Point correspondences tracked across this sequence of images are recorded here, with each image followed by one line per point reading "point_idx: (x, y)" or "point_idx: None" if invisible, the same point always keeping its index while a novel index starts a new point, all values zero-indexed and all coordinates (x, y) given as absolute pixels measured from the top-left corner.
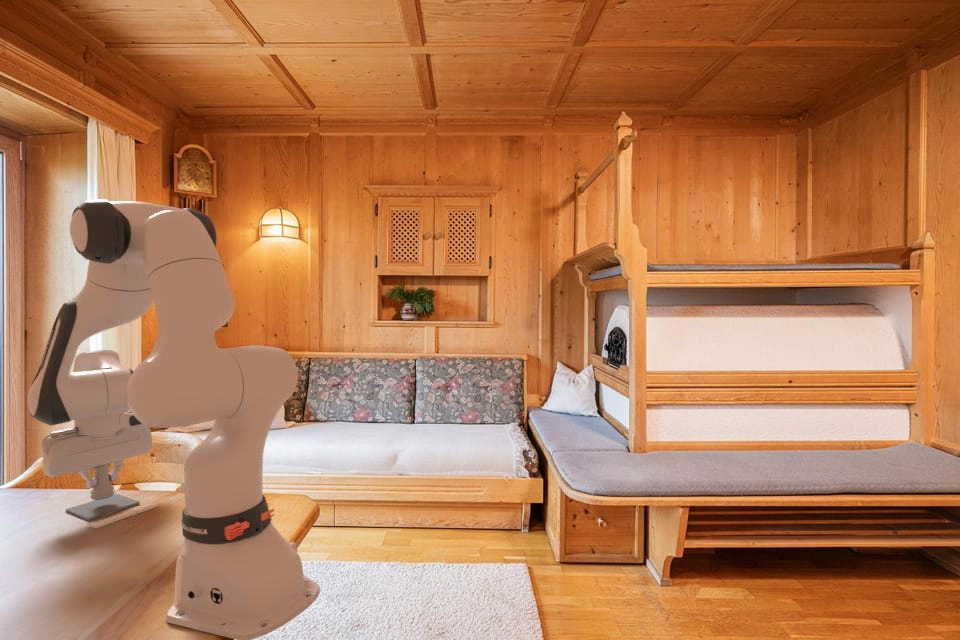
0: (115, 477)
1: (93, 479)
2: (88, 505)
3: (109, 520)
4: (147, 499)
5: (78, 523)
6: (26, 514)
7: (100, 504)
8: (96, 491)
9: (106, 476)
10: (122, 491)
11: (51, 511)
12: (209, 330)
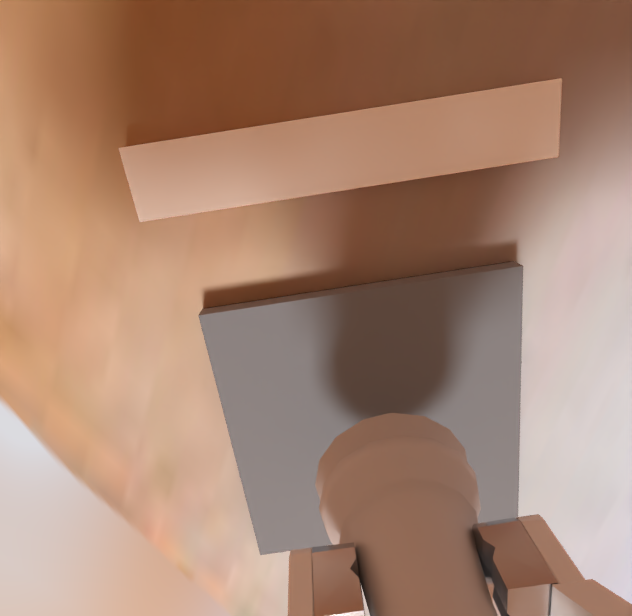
0: (314, 572)
1: (540, 589)
2: None
3: (460, 107)
4: (140, 356)
5: (556, 281)
6: None
7: None
8: (464, 479)
9: (414, 592)
10: (216, 583)
11: None
12: None
